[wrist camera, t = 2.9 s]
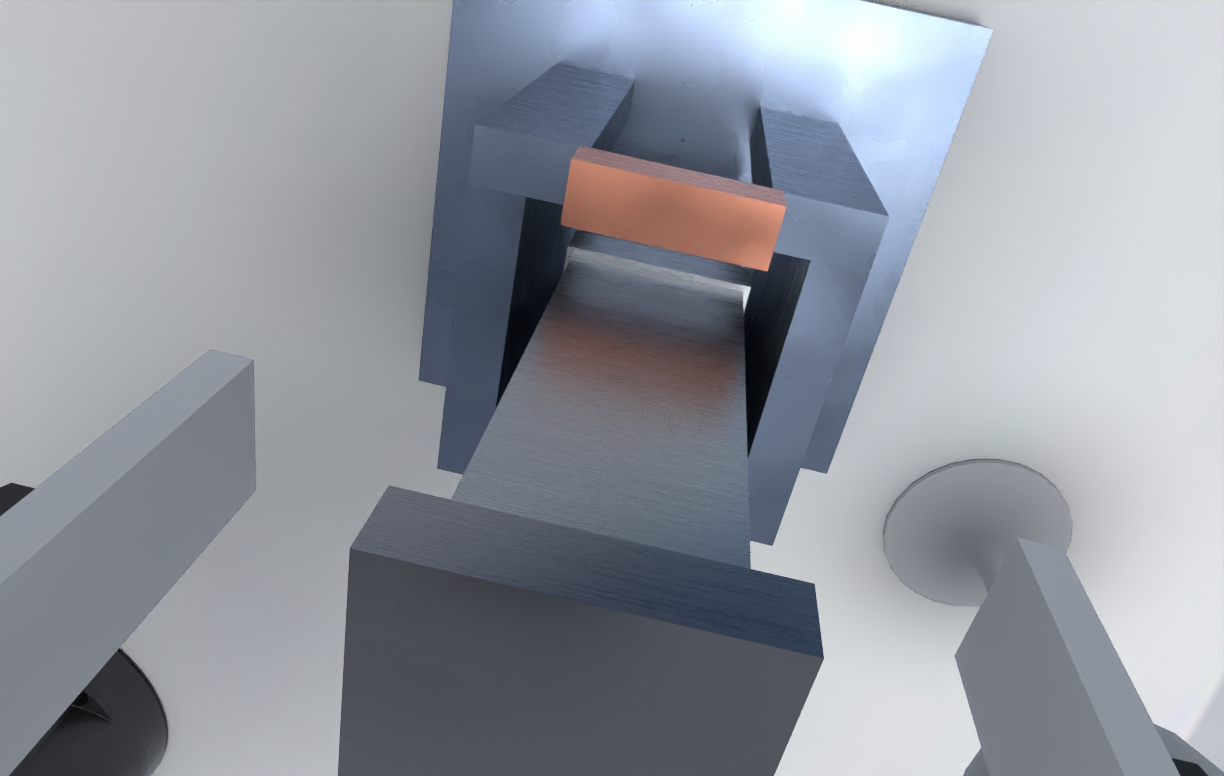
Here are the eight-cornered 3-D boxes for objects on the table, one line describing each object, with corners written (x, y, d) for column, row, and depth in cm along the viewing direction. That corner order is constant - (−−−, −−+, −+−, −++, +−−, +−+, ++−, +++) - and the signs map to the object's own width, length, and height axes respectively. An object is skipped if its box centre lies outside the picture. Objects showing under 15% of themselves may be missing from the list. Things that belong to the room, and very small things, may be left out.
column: (578, 284, 30) (334, 842, 12) (605, 136, 28) (349, 548, 9) (723, 317, 30) (707, 931, 12) (763, 171, 28) (823, 657, 9)
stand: (430, 363, 35) (286, 569, 23) (474, -86, 27) (291, -97, 16) (823, 452, 34) (866, 703, 23) (980, 24, 27) (1159, 92, 15)
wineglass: (840, 524, 36) (953, 1155, 17) (1003, 419, 33) (1354, 1052, 14) (949, 633, 38) (1157, 1306, 19) (1114, 544, 35) (1548, 1244, 16)
